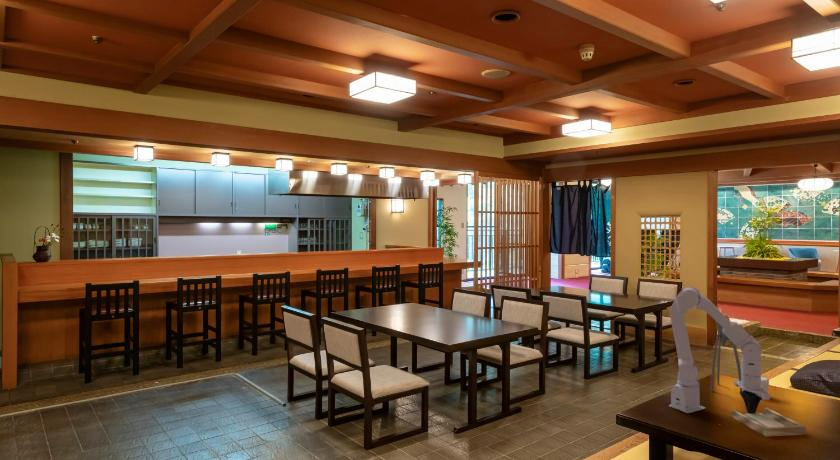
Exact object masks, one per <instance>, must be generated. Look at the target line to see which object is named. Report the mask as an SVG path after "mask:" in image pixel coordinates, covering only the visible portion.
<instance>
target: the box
mask: <svg viewBox="0 0 840 460" xmlns="http://www.w3.org/2000/svg"><path fill="white" fill-rule="evenodd" d="M763 414H764V415H766V416H768V417H770V418H772V419H773V420H775V421H777V422H779V423H781V424H783V425H785V426H779V427H765V426H763V425H762V424H760V423H758V422H756V421H754V420H752V419H751V418H749V417H747V416H745V414H744V413H741V412H739V411H738V410H736V409H731V410H730V417H731V418H732V417H733V419H734V420H736V421H737V422H739V423H741V424H743V425H744V426H747V428H748V427H749V428H750V429H752V430H753V431H755V432H757V433H759V434H760V435H762V436H764V437H765V438H766V437H769V438H770V437H781V436H782V437H783V436H785V437H786V436H799V435H800V436H801V435H806V434H807V433H806V432H807V431H806V426H805V425H803V424H801V423H799V422H797V421H795V420H793V419H791V418H789V417H788V416H785V415H782V413H779V412H777V411H774V410H773V409H770V408H769V407H764V408H763Z"/></svg>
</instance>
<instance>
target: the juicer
mask: <svg viewBox="0 0 840 460" xmlns="http://www.w3.org/2000/svg"><path fill="white" fill-rule="evenodd" d="M724 316H725V317H726V318H727V319H728V320H729V321H731V320H730V318H729V317H728V316H727V315H724ZM715 325H716V326H715V327H716V331H717V334H716V339H715V345H714V350H713V355H712V357H713V358H712V364H711V365H712V366H711V384H710V385H711V388H710V389H711V390H710V391H711V392H714V389H715V372H716V383H717V385H720V370H721V348H725V346H726V344H727V341H729V340H730V339H729V338H728V337H727V336H726V335H725V334H724V333H723V327H722V326H721V325H720V324H719V323H718V322H717V321H716V320H715ZM730 343H731V345H732V349H733V353H734V354H733V355H734V357H735V363H736V368H737V374H738V380H740V381H741V362H740V358H739V354H738V349H737V346H736V345H735V344H734V343H733V342H732V341H731V340H730ZM716 359H717V361H716ZM716 362H717V366H716ZM716 367H717V368H716ZM715 370H717V371H715ZM740 391H743V389H741V388H740V387H739V392H740Z"/></svg>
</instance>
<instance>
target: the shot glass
mask: <svg viewBox="0 0 840 460" xmlns="http://www.w3.org/2000/svg"><path fill="white" fill-rule="evenodd" d="M769 385H770V379H769V378H768V377H766V376H762V375H761V386H762V387H764V389H763V390H764V391H766V392H767V393H769Z"/></svg>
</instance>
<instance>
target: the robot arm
mask: <svg viewBox="0 0 840 460" xmlns="http://www.w3.org/2000/svg"><path fill="white" fill-rule="evenodd" d="M694 307H695V308H696V309H697V310H700V311H704V312H706V313H707V315H709V316H710V317H711V318H712V319H713V320H714V321H715V322H716V321H717V322H718V323H719V324H720V325H721V326H722V327H723V333H724V334H725V335H726V336H727V337H728V338H729V339H730V342H731V341H732V342H733V343H734V344H735V345H736V348H737V347H738V348H740V352H741V356H742V357H741V360H740V369H741V381H740V380H739V379H735V380H734V382H733V383H734V384H733V386H735V387H739V389H740V388H741V389H742V391H740V390H739V394H740V397H741V398H742V399H743V403H744V405H745V409H746V412H747V413H746V414H754V413H757V409H758V406H759V405H760V402H761V401H762V400H765V401H767V400H771V399H770V398H771V397H770V393H769V392H768V393H767V392H766V391H764V390H763V389H764V387H762V386H761V376H762V363H761V355H762V353H763V351H762V347H761V346H760V345H761V344H760V343H759V342H758V340H757V339H756V338H755V337H754V336H753V335H750V334H749V333H748V332H747V331H746V330H745V329H744V326H743V324H741V323H738V322H737V321H731V320H730V319H729V320H730V321H729V320H728V319H727V318H726V317H725V316H726V315H724V314H723V313H722V312H721V311H720V309H719V308H718V307H717V306H716V305H715V304H714V303H713V302H712V301H711V300H710V299H709V298H707V296H706V295H704V294H703V293H702V292H699V290H698V288H696V287H693V286H685V287H684V288H683V289H682V290H681V291H680V292H678V294H677V295H676V297H675V299H674V300H673V303H672V305H671V307H670V308H669V310H668V311H669V316H670V324H671V327H672V328H671V329H672V332H673V333H672V334H673V338H674V343H675V348H676V354H677V359H678V360H677V361H678V364H677V365H678V372H677V381H676V384H675V385H674V386H672V388H671V389H670V404H668V406H669V407H670V408H672V409H676V410H678V411H681V412H683V413H686V414H690V413H695V412H698V411H701V410H705V409H706V407H705V406H702V405H700V398H701V397H700V382H699V381H698V375H699V369H698V367H697V365H696V364H695V362H694V358H693V355H692V351H691V345H690V339H689V334H688V330H687V324H686V319H685V314H686V313H687V312H688V311H689V310H690V309H693V308H694Z"/></svg>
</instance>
